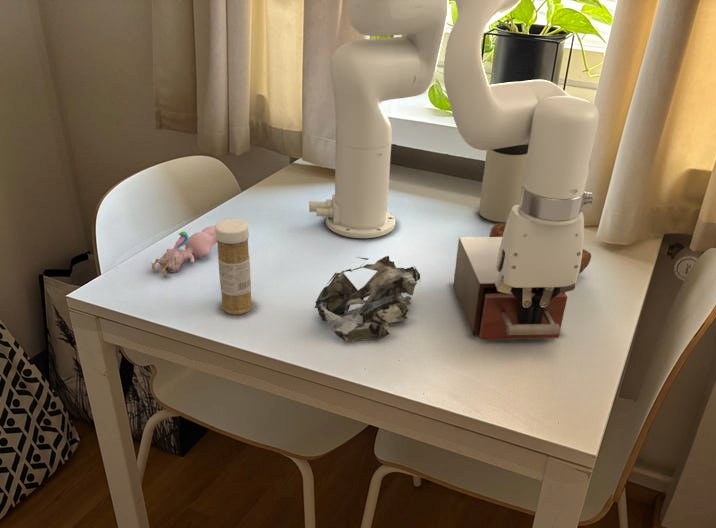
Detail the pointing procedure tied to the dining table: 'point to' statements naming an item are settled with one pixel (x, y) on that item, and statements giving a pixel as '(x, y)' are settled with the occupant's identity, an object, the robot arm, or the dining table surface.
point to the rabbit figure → (187, 249)
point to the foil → (367, 301)
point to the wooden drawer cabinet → (475, 275)
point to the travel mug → (502, 182)
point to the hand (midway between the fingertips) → (527, 327)
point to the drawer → (503, 317)
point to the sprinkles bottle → (234, 265)
